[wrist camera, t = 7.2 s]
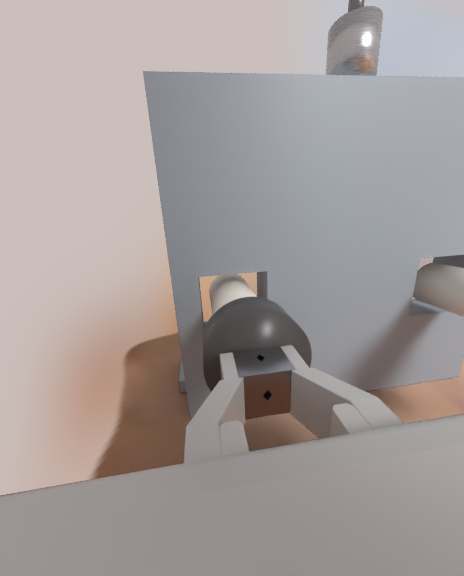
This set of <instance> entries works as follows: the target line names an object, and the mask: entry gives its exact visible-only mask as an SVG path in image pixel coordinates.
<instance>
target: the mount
mask: <svg viewBox="0 0 464 576" xmlns="http://www.w3.org/2000/svg"><path fill="white" fill-rule="evenodd" d="M143 74H144V82H145V90H146V97H147V104H148V112H149V119H150V126H151V134H152V141H153V148H154V156H155V163H156V171H157V178H158V185H159V193H160V200H161V208H162V214H163V222H164V230H165V237H166V245H167V252H168V259H169V267H170V274H171V281H172V289H173V296H174V303H175V311H176V318H177V326H178V333H179V340H180V348H181V355H182V356H181V364H180V373H179V381H178V382H179V389H180V393H181V392H187V400H188V407H189V414H190V418H193V417H194V415H195V414H196V413H197V411H198V410H199V408H200V407H201V406H202V404H203V403H204V402H205V400H206V399H207V397H208V396H209V395H210V393H211V391H210V389H209V388H208V386H207V384H206V381H205V378H204V373H203V343H202V340H203V333H204V330H205V327H206V325H207V323H208V321H207V322H203V312H202V302H201V291H200V281H199V277H203V276H215V275H228V274H239V273H251V272H257V297H261V298H266V299H268V300H271V301H273V302H275V303H277V304H278V305H279V306H281V307H282V308H283V309H284V310H285V311H286V312H287V313H288V315H289V316H290V317H291V318H292V319H293V320H294V321H295V322H296V323H297V324H298V325H299V326H300V327H301V329H302V330H303V331H304V332H305V334H306V335H307V337H308V339H309V342H310V345H311V351H312V359H311V365H310V368H315V369H317V370H320V371H322V372H324V373H326V374H328V375H331V376H333V377H335V378H337V379H339V380H341V381H344V382H346V383H348V384H350V385H352V386H355V387H357V388H359V389H361V390H363V391H371V390H377V389H384V388H390V387H397V386H403V385H410V384H416V383H422V382H429V381H435V380H442V379H448V378H455V377H458V376H459V372H460V369H461V365H462V362H463V359H464V317H462V316H459V315H456V314H454V313H451V312H448V311H446V310H443V309H440V308H438V307H435V306H432V305H430V304H427V303H424V302H422V301H419V300H417V299H413V300H412V297H413V292H414V287H415V282H416V277H417V272H418V266H419V261H420V258H430V257H434V260H433V263H439V264H445V265H450V266H455V267H460V268H464V77H462V78H460V77H408V76H360V75H307V74H306V75H305V74H303V75H302V74H255V73H253V74H252V73H203V72H150V71H143Z"/></svg>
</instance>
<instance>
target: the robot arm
mask: <svg viewBox="0 0 464 576" xmlns="http://www.w3.org/2000/svg"><path fill="white" fill-rule="evenodd" d="M220 369H221V380H220V381H219V382H218V384H217V385H216V386H215V388H214V389H213V391H212V392H211V393H210V395H209V396H208V397H207V399H206V400H205V402H204V403H203V404H202V406H201V407H200V408H199V410H198V411H197V413H196V414H195V415H194V417H193V418H192V420H191V421H190V422H189V424H188V425H187V426H186V435H185V451H184V463H182V464H176V465H171V466H165V467H159V468H154V469H148V470H142V471H137V472H131V473H125V474H120V475H114V476H109V477H103V478H97V479H92V480H86V481H80V482H75V483H69V484H64V485H58V486H52V487H46V488H41V489H36V490H30V491H24V492H18V493H13V494H7V495H1V496H0V576H464V414H459V415H453V416H448V417H442V418H437V419H431V420H425V421H420V422H414V423H408V424H404V423H403V422H402V421H401V420H400V419H399V418H398V417H397V416H396V415H395V414H394V413H393V412H392V411H391V410H390V409H389V408H388V407H387V406H386V405H385V404H384V403H383V402H382V401H381V400H380V399H379V398H378V397H376V396H374V395H372V394H370V393H368V392H365V391H363V390H361V389H359V388H357V387H355V386H352V385H350V384H348V383H346V382H344V381H341V380H339V379H337V378H335V377H333V376H331V375H328V374H326V373H324V372H322V371H320V370H317V369H315V368H309V367H308V365H307V364H306V363H305V361H304V360H303V359H302V357H301V356H300V355H299V353H298V352H297V351H296V349H295V348H294V347H293V346H292V345H286V346H280V347H274V348H267V349H260V350H249V351H239V352H229V353H221V354H220ZM284 413H290V414H291V415H292V416H293V417H295V418H296V419H297V420H298V421H299V422H300V423H302V424H303V425H304V426H305V427H306V428H308V429H309V430H310V431H311V432H312V433H313V434H315V435H316V436H317V437H318V438H319V439H317V440H312V441H306V442H300V443H295V444H289V445H283V446H278V447H272V448H267V449H261V450H255V451H250V452H249V448H248V444H247V439H246V435H245V431H244V424H245V420H247V419H252V418H257V417H263V416H267V415H276V414H284Z"/></svg>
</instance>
